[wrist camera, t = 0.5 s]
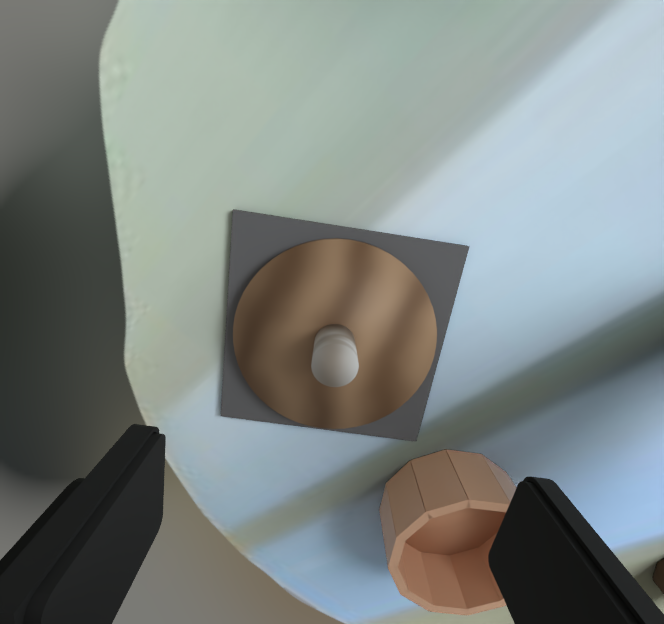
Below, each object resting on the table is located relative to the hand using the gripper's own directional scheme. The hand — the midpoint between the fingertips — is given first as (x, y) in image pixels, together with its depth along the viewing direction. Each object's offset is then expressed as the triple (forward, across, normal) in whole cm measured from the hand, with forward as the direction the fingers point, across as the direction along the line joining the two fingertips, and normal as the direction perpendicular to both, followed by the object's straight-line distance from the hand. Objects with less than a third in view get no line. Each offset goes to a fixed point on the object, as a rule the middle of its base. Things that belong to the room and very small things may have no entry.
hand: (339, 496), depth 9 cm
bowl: (+25, -19, +25) cm, 41 cm away
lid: (+25, -2, +6) cm, 26 cm away
